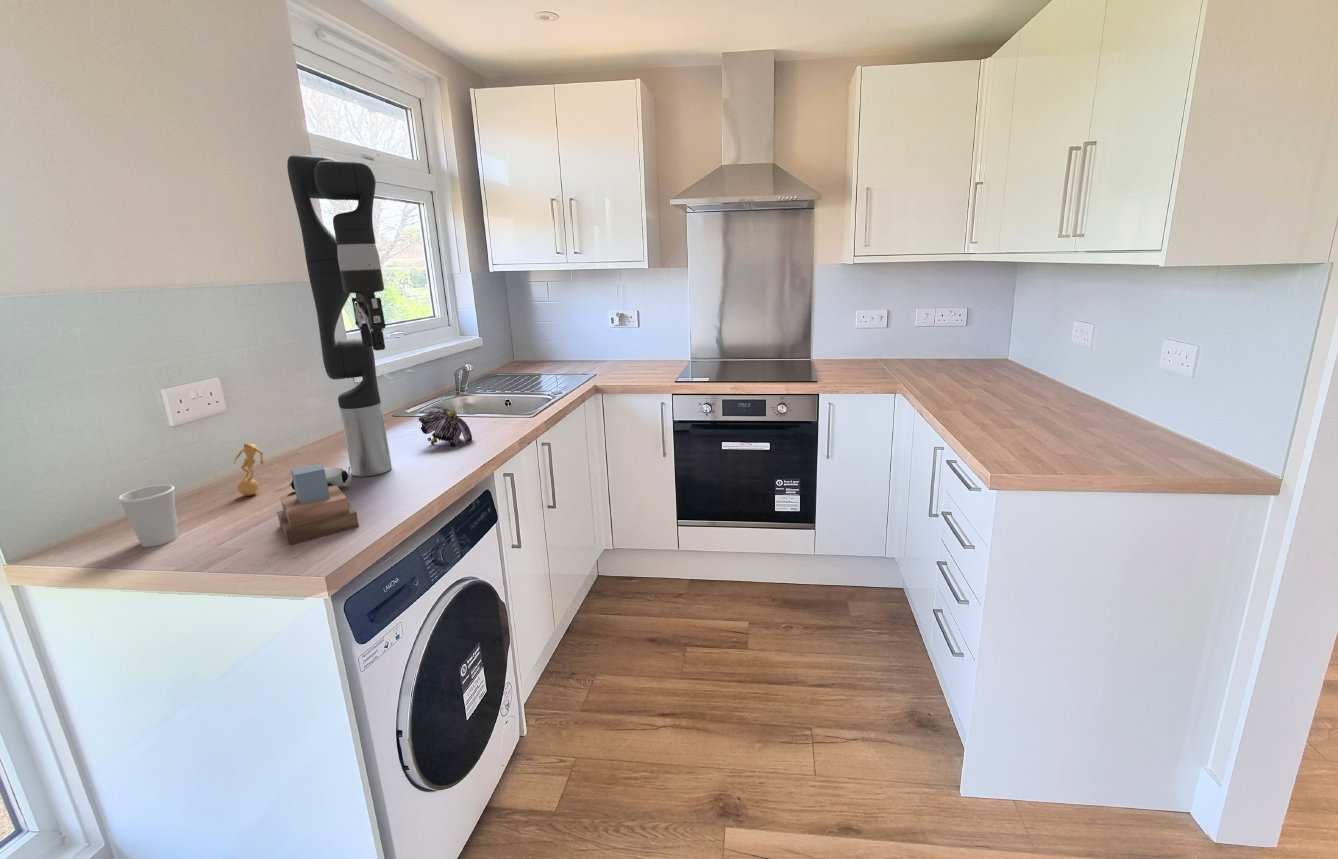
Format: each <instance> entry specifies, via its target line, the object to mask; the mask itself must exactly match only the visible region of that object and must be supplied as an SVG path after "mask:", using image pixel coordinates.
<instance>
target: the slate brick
mask: <svg viewBox="0 0 1338 859" xmlns="http://www.w3.org/2000/svg"><path fill="white" fill-rule="evenodd" d="M290 472H291V473H290V474H291V478H293V483H294V487H295V490H294V492H296V497H297V499H298V501H299V502H300V504H301V505H302V504H307V503H311V502H315V501H319V500H323V499H328V498H330V495H329V490H328V485H327V480H326V475H325V470H324V467H323V466H322V464H321V463H320V462H318V463H315V464H309V465H304V466H300V467H293V468H290Z"/></svg>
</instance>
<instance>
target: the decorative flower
mask: <svg viewBox="0 0 1338 859" xmlns="http://www.w3.org/2000/svg"><path fill="white" fill-rule="evenodd" d="M420 413H421V414H422V415H421V416H419V417H418V418H417V419H418V422H420V423H421V427H420V431H421V433H423V434H425V435H428V434H431V433H432V432H433V433H432V434H431V437H430V436H429V437H428V438H427V441H428V442H430V444H431V445H435V443H438V441H439V442H440V441H442V442H443V441H445V442H448V443H449V447H452V448H455V447H456V446H457V445H458V443H459V441H460V437H461V435H462V436H463V439H464V441H465V444H468V443H471V441H472V440H473V435H472V432H471V430H470V427H469V426H468V424H467V423H466V421H465V420H464V419H463V418H460V417H459V416H458V415H457V412H456V411H454V410H450V409H448V408H445V407H441V406H435V407H434V406H433V407H428V408H426V409H424V410H422V411H421V412H420ZM423 413H425V414H423ZM432 437H433V438H432Z"/></svg>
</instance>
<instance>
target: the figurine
mask: <svg viewBox="0 0 1338 859" xmlns="http://www.w3.org/2000/svg"><path fill="white" fill-rule="evenodd" d="M243 452H244V454H245V456H246V457H245V458H244V460H243V463H242V465H241V466H240V468H241V470H242V471H243V472H245V473H246V474H245V477H243V478H242V480H241V481H240V482H238V484H237V491H238V492H239V493H240V495H242V496H246V497H249V496H250V497H251V496H252V495H254V494H256V493H257V492H258V490H259V488H260V486H259V482H257V480H256V479H254V478H253V477H254V473H255V470H254V469H252V468H253V467H254V465H255V463H256V459H255V458H254V457H255V455H256V453H259V455H260V461H259V465H260V466H262V465H264V457H263V455H264V452H263V451H262V450H261V449H259V448H258V446H257V445H256V444H255V443H247V442H244V444H243V448H242V449H240V450H239V453H238V454H237V455H236V457H235V459H234V461H233V464H236V461H237V460H238V459H239V458H240V457H241V455H242V453H243ZM250 473H251V474H250ZM249 475H250V476H249Z"/></svg>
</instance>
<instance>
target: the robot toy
mask: <svg viewBox="0 0 1338 859" xmlns="http://www.w3.org/2000/svg"><path fill="white" fill-rule="evenodd" d="M323 468H324V467H323ZM324 470H325V475H326V480H327V485H328V487H331V486H335V485H336V486H337V487H338V488H341V487H342V486H343V485H344V484H346V483H347V481H348V479H349V478H350V477H351V476H350V470H351V466H350V465H349V466H348V469H347V470H348V472H347V471H346V470H344V469H343V468H340V467H325V468H324ZM289 487H291V489H292V490H294V491H292V492H290V493H288V494H287V495H286V497H287V496H291V495H295V494H296V492H295V487H294V483H293V478H292V477H291V479H290V482H289Z"/></svg>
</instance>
